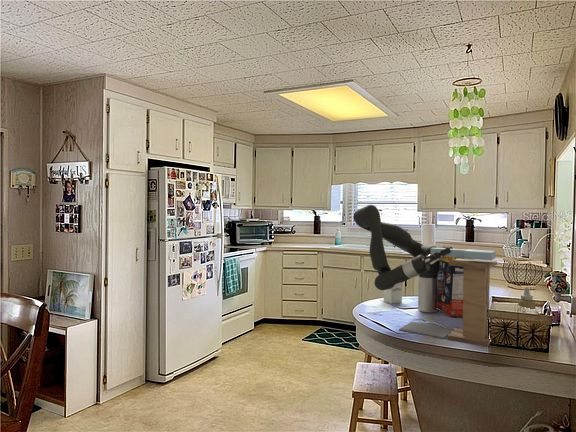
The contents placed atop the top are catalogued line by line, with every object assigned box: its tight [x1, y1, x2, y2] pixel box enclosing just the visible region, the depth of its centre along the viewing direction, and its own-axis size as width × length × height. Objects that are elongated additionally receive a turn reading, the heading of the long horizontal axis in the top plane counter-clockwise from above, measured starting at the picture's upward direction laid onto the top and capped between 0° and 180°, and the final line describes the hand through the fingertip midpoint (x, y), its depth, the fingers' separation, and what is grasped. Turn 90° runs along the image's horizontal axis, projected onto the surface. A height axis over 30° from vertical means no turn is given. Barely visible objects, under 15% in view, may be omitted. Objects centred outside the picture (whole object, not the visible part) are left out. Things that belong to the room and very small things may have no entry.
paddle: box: [431, 247, 497, 261], centre depth 175 cm, size 8×24×3 cm, turn 54°
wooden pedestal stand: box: [447, 258, 498, 347], centre depth 173 cm, size 14×15×31 cm
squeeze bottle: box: [517, 286, 537, 310], centre depth 188 cm, size 8×8×18 cm
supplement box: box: [383, 282, 403, 305], centre depth 239 cm, size 7×7×13 cm
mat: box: [398, 321, 456, 339], centre depth 184 cm, size 15×19×1 cm
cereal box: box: [437, 246, 475, 319], centre depth 218 cm, size 27×11×32 cm, turn 1°
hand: (451, 249), depth 178 cm, fingers closed on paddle, 3 cm apart
